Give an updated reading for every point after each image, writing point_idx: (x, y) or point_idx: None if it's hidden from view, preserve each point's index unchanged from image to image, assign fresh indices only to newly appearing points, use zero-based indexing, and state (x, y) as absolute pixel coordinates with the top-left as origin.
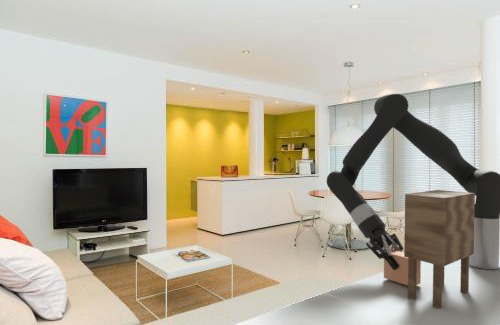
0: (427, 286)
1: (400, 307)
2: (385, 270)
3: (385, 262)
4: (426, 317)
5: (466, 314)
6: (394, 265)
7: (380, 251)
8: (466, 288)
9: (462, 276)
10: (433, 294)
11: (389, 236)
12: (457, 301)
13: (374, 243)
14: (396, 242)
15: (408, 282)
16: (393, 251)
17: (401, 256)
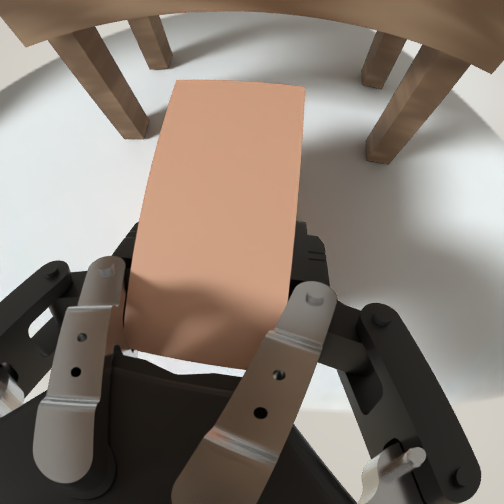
0: None
1: (461, 164)
2: None
3: None
4: (447, 97)
5: (339, 31)
6: (321, 244)
7: (412, 352)
8: (167, 44)
9: (154, 24)
10: (394, 61)
11: (51, 414)
12: (263, 53)
13: (457, 437)
14: (18, 334)
15: (414, 131)
16: (180, 308)
17: (297, 175)
